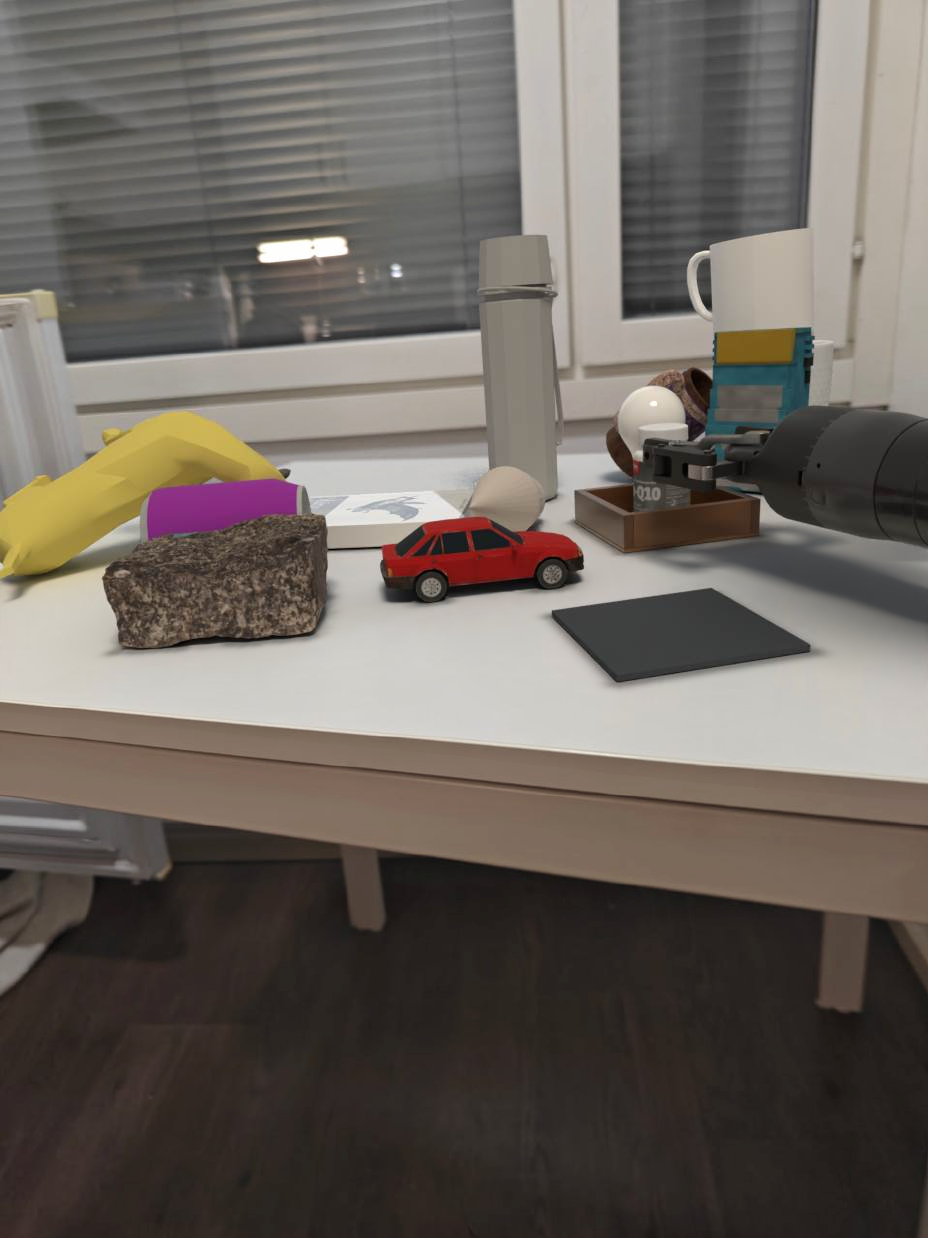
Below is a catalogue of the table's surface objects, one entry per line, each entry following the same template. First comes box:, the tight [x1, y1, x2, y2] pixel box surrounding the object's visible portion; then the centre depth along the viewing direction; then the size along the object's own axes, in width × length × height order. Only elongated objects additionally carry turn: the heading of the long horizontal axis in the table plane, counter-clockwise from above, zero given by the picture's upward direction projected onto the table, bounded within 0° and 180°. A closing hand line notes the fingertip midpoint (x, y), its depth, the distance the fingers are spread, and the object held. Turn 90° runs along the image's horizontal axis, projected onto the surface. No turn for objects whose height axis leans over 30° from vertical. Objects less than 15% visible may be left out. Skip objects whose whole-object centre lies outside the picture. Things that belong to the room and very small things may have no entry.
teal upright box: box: [704, 327, 816, 494], centre depth 81 cm, size 10×4×15 cm, turn 43°
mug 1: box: [605, 366, 713, 479], centre depth 89 cm, size 10×7×12 cm
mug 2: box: [686, 227, 815, 338], centre depth 88 cm, size 13×10×10 cm
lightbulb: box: [617, 385, 686, 459], centre depth 81 cm, size 6×6×11 cm
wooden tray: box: [573, 483, 761, 554], centre depth 72 cm, size 12×12×3 cm
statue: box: [0, 410, 288, 579], centre depth 74 cm, size 27×13×20 cm
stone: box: [101, 513, 329, 649], centre depth 57 cm, size 11×13×6 cm
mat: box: [551, 587, 812, 683], centre depth 49 cm, size 11×11×1 cm
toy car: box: [379, 517, 585, 603], centre depth 60 cm, size 6×14×5 cm, turn 98°
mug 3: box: [809, 339, 835, 406], centre depth 94 cm, size 15×11×13 cm
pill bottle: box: [632, 423, 691, 512], centre depth 71 cm, size 5×5×8 cm
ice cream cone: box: [470, 466, 546, 532], centre depth 72 cm, size 6×6×15 cm
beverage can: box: [139, 478, 311, 544], centre depth 66 cm, size 8×8×12 cm
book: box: [308, 488, 475, 549], centre depth 79 cm, size 23×14×2 cm, turn 83°
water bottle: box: [475, 234, 565, 502], centre depth 85 cm, size 9×8×25 cm
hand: (693, 445), depth 66 cm, fingers open, 8 cm apart
